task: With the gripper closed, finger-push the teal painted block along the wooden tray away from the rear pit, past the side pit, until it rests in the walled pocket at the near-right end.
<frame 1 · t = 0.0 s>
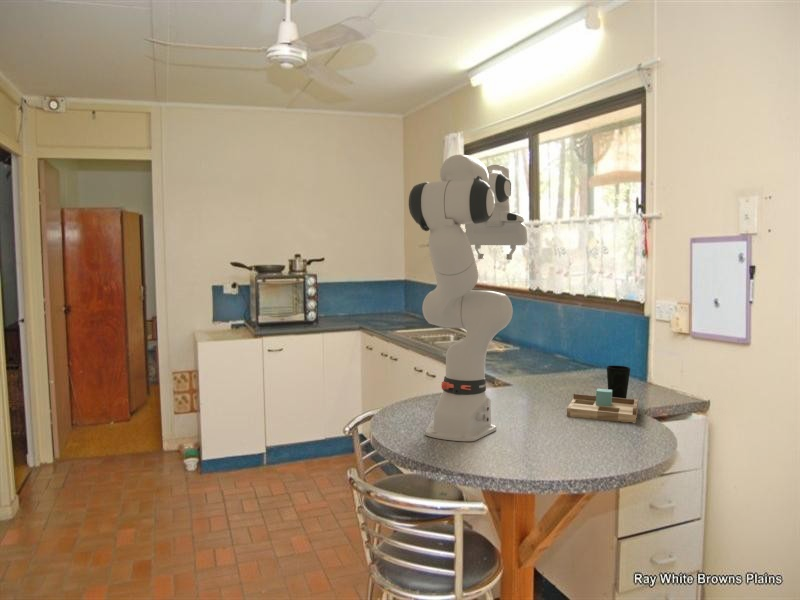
hand: (494, 259, 203), 48 cm above the counter, fingers open, 8 cm apart
pepper mill: (460, 395, 222), on the counter
cup: (617, 402, 215), on the counter
block: (603, 404, 199), point 2 cm above the counter, touching wooden tray
wooden tray: (602, 413, 197), on the counter
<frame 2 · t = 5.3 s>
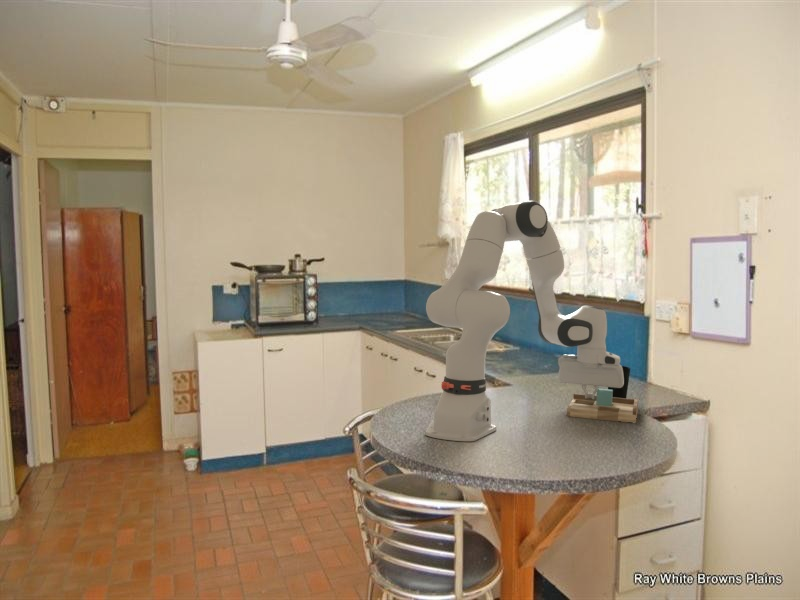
hand: (589, 398, 201), 4 cm above the counter, fingers closed
block: (604, 404, 199), point 3 cm above the counter, touching gripper
everything else where it was.
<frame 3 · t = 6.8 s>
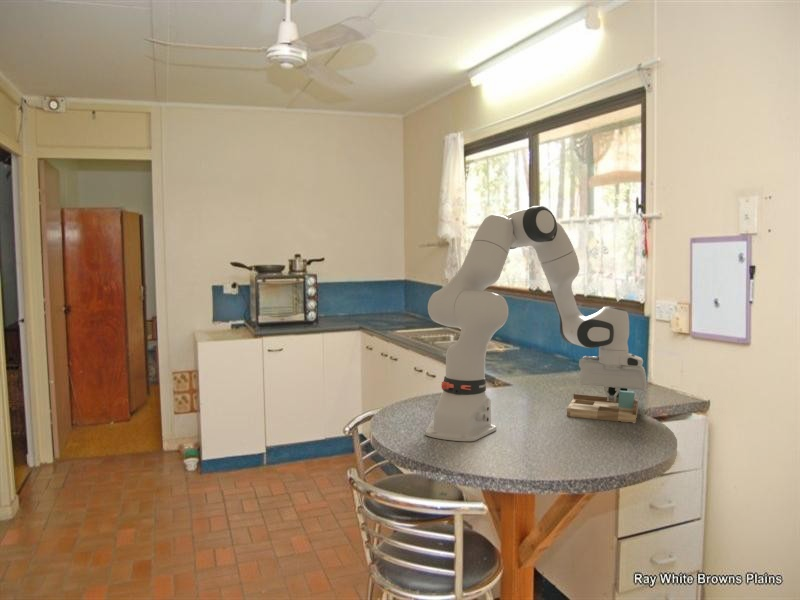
hand: (611, 400, 199), 4 cm above the counter, fingers closed
block: (626, 406, 197), point 2 cm above the counter, touching wooden tray, gripper
everything else where it was.
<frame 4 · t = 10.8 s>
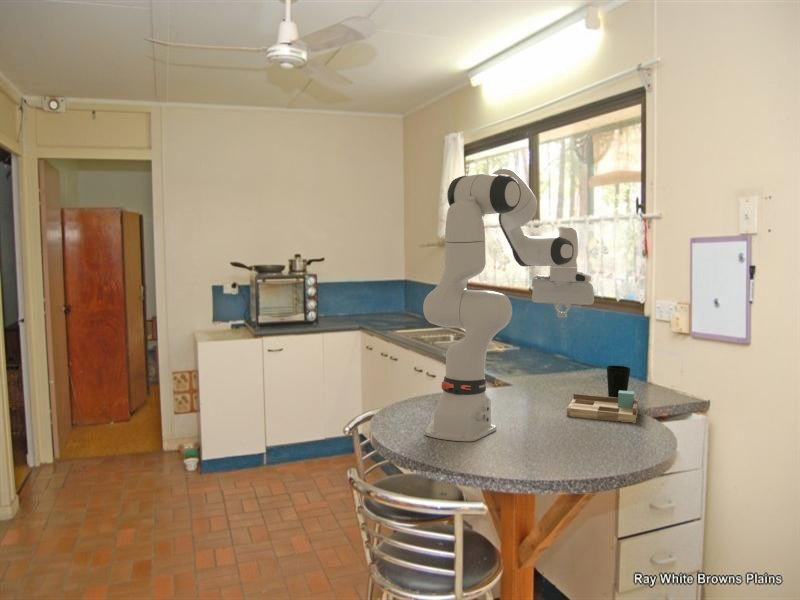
hand: (561, 317, 210), 29 cm above the counter, fingers closed
block: (625, 406, 197), point 2 cm above the counter, touching wooden tray
everything else where it was.
at the end: block 0.4 cm from the target spot on the wooden tray, point 2.5 cm above the wooden tray's base; block tilted 0° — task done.
